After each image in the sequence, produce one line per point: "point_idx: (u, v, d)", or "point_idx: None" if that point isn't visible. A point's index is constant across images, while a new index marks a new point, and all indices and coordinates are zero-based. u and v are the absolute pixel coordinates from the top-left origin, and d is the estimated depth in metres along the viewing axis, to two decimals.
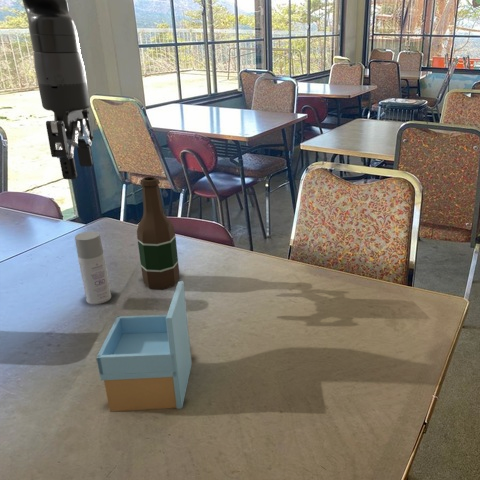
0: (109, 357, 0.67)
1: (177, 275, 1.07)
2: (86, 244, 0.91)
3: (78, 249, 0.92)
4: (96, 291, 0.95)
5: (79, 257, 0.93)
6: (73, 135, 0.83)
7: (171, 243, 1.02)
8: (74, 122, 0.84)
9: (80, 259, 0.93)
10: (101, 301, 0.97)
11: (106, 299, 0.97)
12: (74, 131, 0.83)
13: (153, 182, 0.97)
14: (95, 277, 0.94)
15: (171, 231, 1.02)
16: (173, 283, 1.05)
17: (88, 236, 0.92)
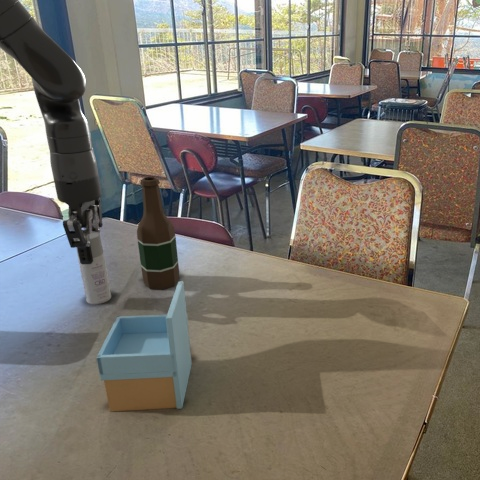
0: (109, 357, 0.67)
1: (177, 275, 1.07)
2: None
3: None
4: (96, 291, 0.95)
5: None
6: (87, 225, 0.90)
7: (171, 243, 1.02)
8: (87, 211, 0.89)
9: None
10: (101, 301, 0.97)
11: (106, 299, 0.97)
12: (88, 221, 0.89)
13: (153, 182, 0.97)
14: (95, 277, 0.94)
15: (171, 231, 1.02)
16: (173, 283, 1.05)
17: None
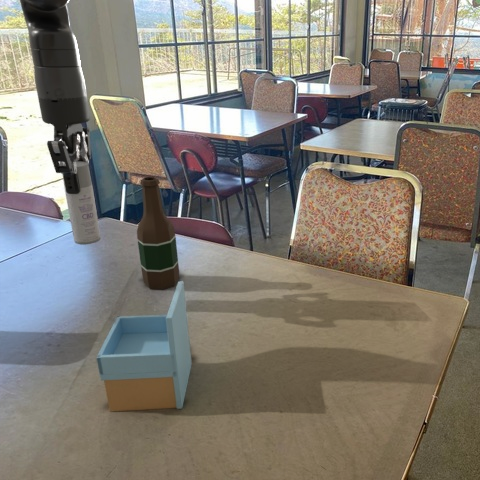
0: (109, 357, 0.67)
1: (177, 275, 1.07)
2: None
3: None
4: (84, 225, 0.90)
5: None
6: (74, 151, 0.84)
7: (171, 243, 1.02)
8: (74, 135, 0.84)
9: None
10: (89, 237, 0.91)
11: (94, 235, 0.92)
12: (75, 146, 0.84)
13: (153, 182, 0.97)
14: (83, 210, 0.89)
15: (171, 231, 1.02)
16: (173, 283, 1.05)
17: None
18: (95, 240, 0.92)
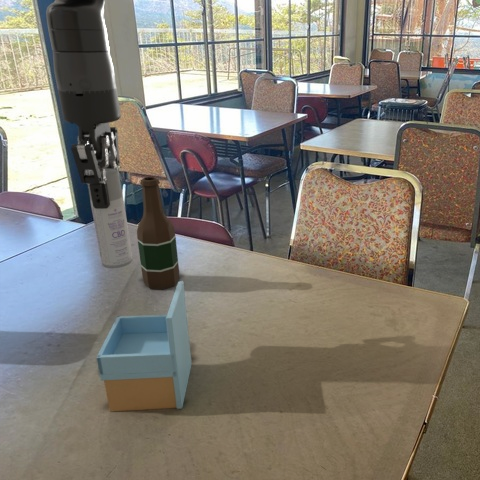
0: (109, 357, 0.67)
1: (177, 275, 1.07)
2: None
3: None
4: (114, 245, 0.74)
5: None
6: (103, 156, 0.68)
7: (171, 243, 1.02)
8: (102, 137, 0.68)
9: None
10: (120, 259, 0.76)
11: (126, 257, 0.76)
12: (104, 151, 0.68)
13: (153, 182, 0.97)
14: (113, 227, 0.73)
15: (171, 231, 1.02)
16: (173, 283, 1.05)
17: None
18: (127, 262, 0.77)
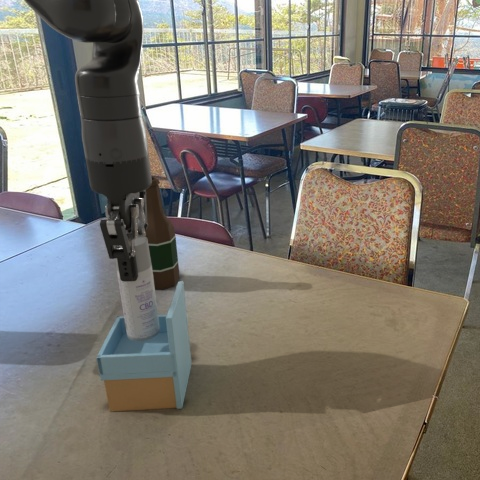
0: (109, 357, 0.67)
1: (177, 275, 1.07)
2: None
3: None
4: (141, 318, 0.68)
5: None
6: (133, 227, 0.63)
7: (171, 243, 1.02)
8: (132, 207, 0.62)
9: None
10: (147, 331, 0.70)
11: (154, 328, 0.70)
12: (133, 221, 0.62)
13: (153, 182, 0.97)
14: (141, 299, 0.67)
15: (172, 231, 1.02)
16: (173, 283, 1.05)
17: None
18: (154, 333, 0.71)
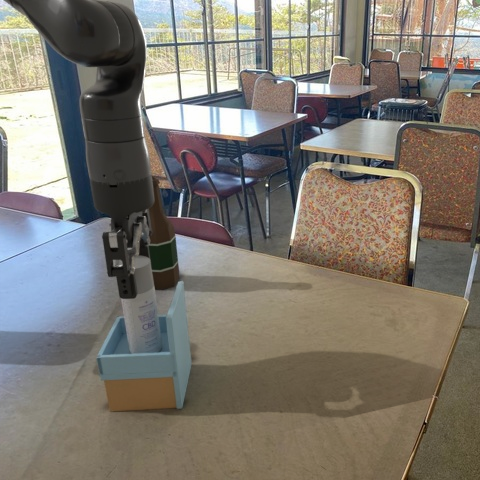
0: (109, 357, 0.67)
1: (177, 275, 1.07)
2: None
3: None
4: (144, 337, 0.70)
5: None
6: (134, 243, 0.63)
7: (171, 243, 1.02)
8: (135, 225, 0.63)
9: None
10: (150, 350, 0.71)
11: (156, 347, 0.72)
12: (135, 238, 0.63)
13: (153, 182, 0.97)
14: (144, 319, 0.69)
15: (172, 231, 1.02)
16: (173, 283, 1.05)
17: (135, 264, 0.67)
18: (157, 352, 0.72)
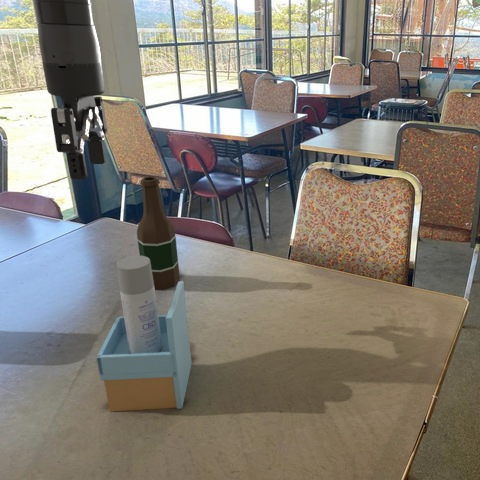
0: (109, 357, 0.67)
1: (177, 275, 1.07)
2: (133, 274, 0.66)
3: (121, 281, 0.66)
4: (144, 337, 0.70)
5: (122, 292, 0.67)
6: (83, 126, 0.69)
7: (171, 243, 1.02)
8: (85, 110, 0.69)
9: (124, 295, 0.67)
10: (150, 350, 0.71)
11: (156, 347, 0.72)
12: (85, 121, 0.69)
13: (153, 182, 0.97)
14: (144, 319, 0.69)
15: (172, 231, 1.02)
16: (173, 283, 1.05)
17: (135, 264, 0.67)
18: (157, 352, 0.72)
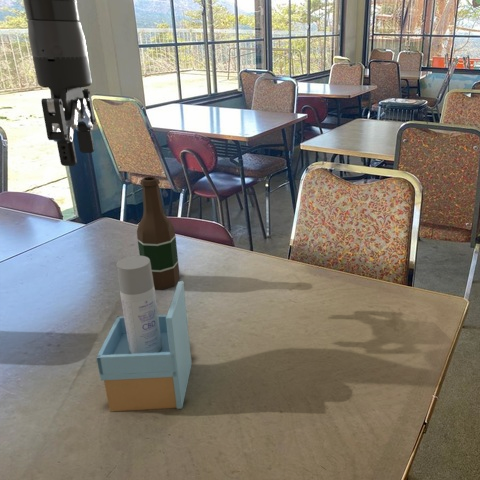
0: (109, 357, 0.67)
1: (177, 275, 1.07)
2: (133, 274, 0.66)
3: (121, 281, 0.66)
4: (144, 337, 0.70)
5: (122, 292, 0.67)
6: (72, 116, 0.74)
7: (171, 243, 1.02)
8: (73, 101, 0.74)
9: (124, 295, 0.67)
10: (150, 350, 0.71)
11: (156, 347, 0.72)
12: (73, 111, 0.74)
13: (153, 182, 0.97)
14: (144, 319, 0.69)
15: (172, 231, 1.02)
16: (173, 283, 1.05)
17: (135, 264, 0.67)
18: (157, 352, 0.72)
